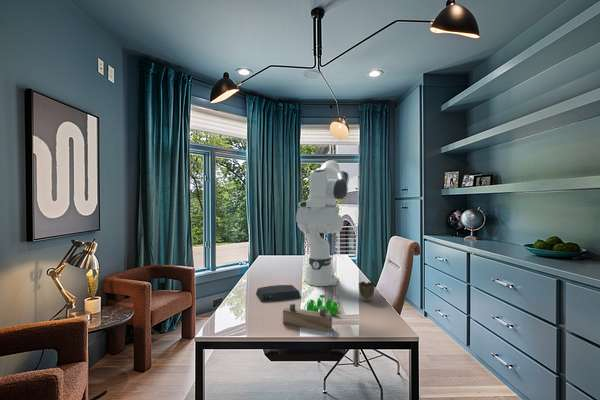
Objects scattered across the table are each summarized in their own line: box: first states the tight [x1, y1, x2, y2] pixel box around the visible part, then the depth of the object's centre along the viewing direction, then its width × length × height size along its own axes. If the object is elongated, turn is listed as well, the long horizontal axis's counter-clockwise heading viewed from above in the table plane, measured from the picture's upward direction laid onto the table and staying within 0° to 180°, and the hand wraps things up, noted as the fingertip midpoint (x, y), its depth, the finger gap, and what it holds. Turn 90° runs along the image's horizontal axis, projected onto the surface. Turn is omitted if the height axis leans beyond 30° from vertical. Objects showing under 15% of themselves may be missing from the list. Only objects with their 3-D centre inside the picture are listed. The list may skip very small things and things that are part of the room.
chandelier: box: [303, 294, 341, 316], centre depth 130 cm, size 15×15×7 cm
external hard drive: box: [255, 284, 302, 303], centre depth 150 cm, size 13×19×4 cm
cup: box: [358, 281, 376, 302], centre depth 144 cm, size 8×7×8 cm
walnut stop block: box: [282, 303, 333, 333], centre depth 115 cm, size 4×18×7 cm, turn 66°
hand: (316, 234), depth 143 cm, fingers open, 8 cm apart
